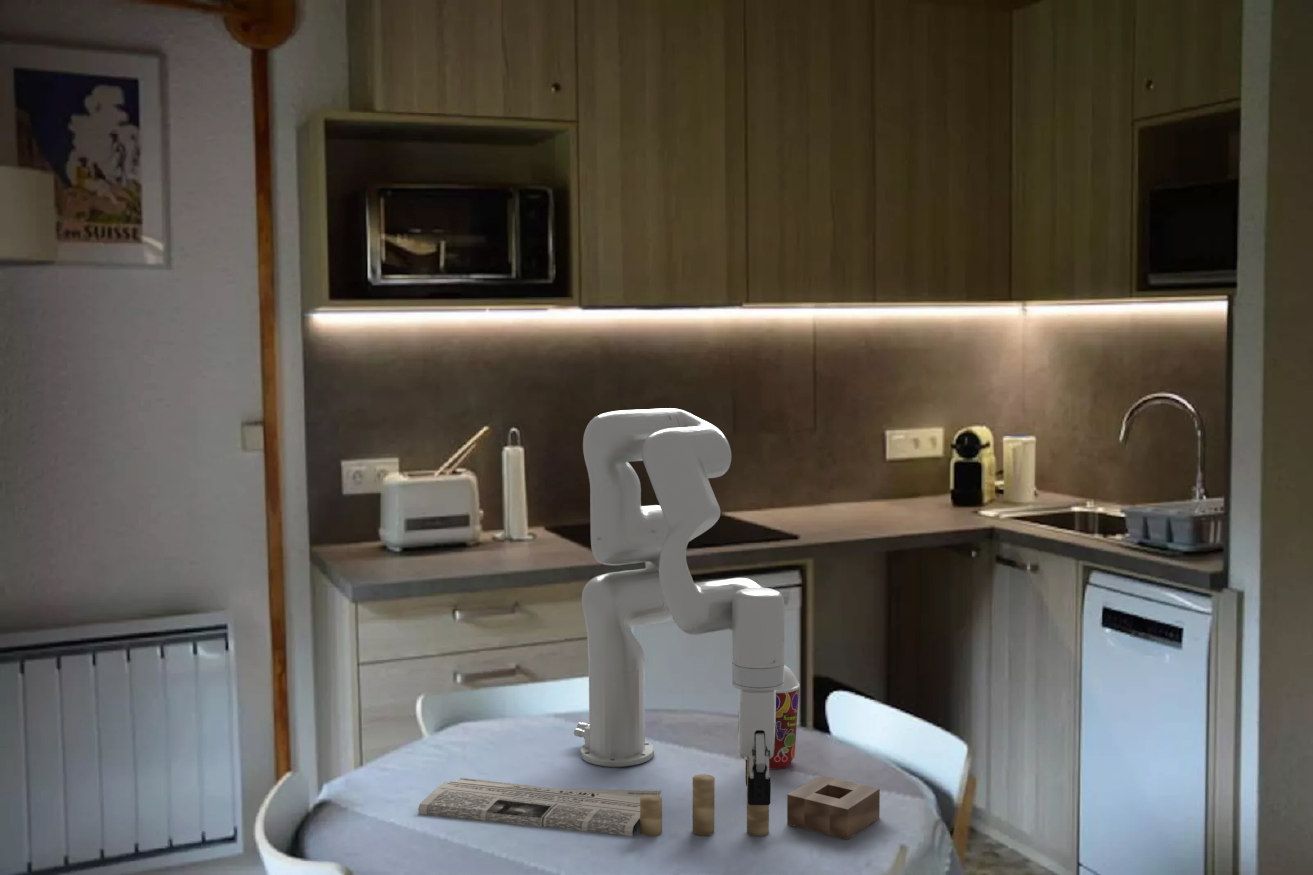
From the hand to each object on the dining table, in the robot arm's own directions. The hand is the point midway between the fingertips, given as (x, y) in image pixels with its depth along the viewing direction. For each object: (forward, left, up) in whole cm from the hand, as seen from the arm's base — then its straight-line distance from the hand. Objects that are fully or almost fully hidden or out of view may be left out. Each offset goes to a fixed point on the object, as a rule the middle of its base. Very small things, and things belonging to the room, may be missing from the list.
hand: (757, 794), depth 189 cm
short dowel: (-13, -9, -6) cm, 16 cm away
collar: (+7, +10, -6) cm, 13 cm away
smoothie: (-13, +26, -6) cm, 30 cm away
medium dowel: (-6, -4, -6) cm, 10 cm away
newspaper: (-31, -12, -6) cm, 34 cm away
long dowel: (0, 0, -6) cm, 6 cm away
